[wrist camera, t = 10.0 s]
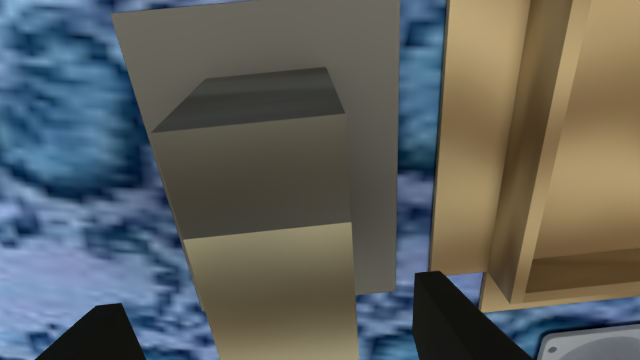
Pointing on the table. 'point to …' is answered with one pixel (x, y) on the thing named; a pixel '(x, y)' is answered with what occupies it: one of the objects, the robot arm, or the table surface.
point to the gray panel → (282, 55)
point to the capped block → (266, 212)
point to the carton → (540, 151)
